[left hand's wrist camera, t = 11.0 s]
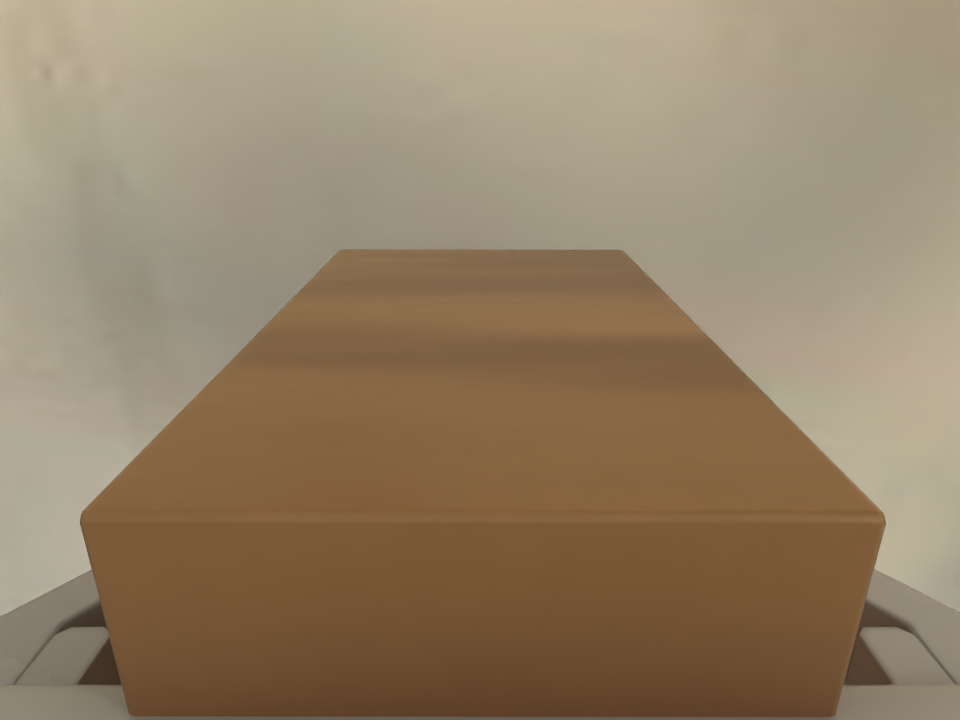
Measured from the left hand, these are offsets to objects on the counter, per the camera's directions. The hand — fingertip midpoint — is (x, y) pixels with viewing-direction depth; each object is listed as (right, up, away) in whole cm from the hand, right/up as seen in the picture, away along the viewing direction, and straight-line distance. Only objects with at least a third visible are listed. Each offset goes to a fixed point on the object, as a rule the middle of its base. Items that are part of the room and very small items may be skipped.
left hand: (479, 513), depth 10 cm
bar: (0, -7, +6) cm, 9 cm away
